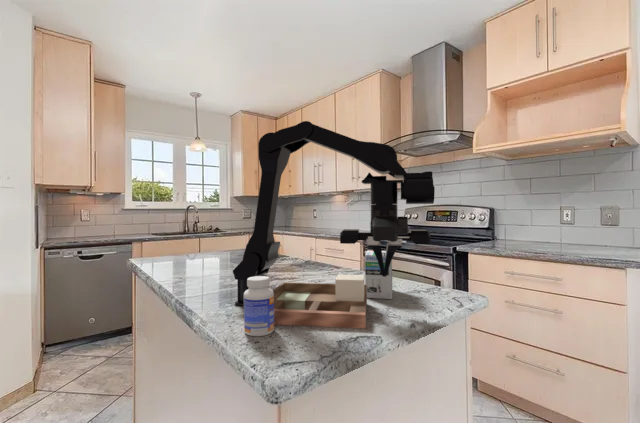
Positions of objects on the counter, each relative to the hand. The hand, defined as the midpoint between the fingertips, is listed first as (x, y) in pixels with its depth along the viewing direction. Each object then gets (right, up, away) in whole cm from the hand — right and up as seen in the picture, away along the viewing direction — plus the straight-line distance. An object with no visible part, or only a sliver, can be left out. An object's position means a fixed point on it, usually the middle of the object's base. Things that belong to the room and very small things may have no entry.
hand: (384, 276), depth 72 cm
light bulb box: (+1, -8, +14) cm, 16 cm away
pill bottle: (-25, -8, -12) cm, 29 cm away
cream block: (-7, -5, +1) cm, 9 cm away
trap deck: (-14, -8, -2) cm, 16 cm away
